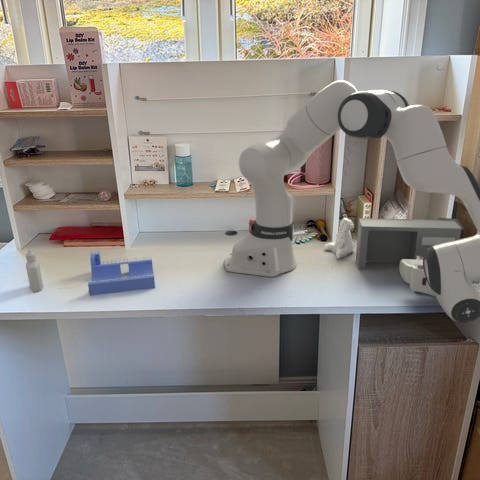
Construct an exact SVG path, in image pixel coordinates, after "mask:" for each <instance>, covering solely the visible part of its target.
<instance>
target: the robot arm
mask: <svg viewBox="0 0 480 480" xmlns="http://www.w3.org/2000/svg"><path fill="white" fill-rule="evenodd" d="M340 130H341V131H343V133H344V134H346V135H348V136H349V137H351V138H355V139H361V140H362V139H363V140H364V139H365V140H366V139H381V138H384V139H386V140H387V141H389V142H390V144H391V147H392V149H393V154H394V156H395V161H396V164H397V167H398V170H399V173H400V176H401V177H402V178H401V179H402V180H403V182H404V183H405V184H406V185H407V186H408V187H410V188H411V189H413V190H415V191H420V192H425V193H434V194H446V195H451V196H454V197H457V198H458V199H460V200H461V201H462V202H463V205H464V206H465V208H466V210H467V212H468V214H469V216H470V219H471V220H472V224H473V225H474V226H475V228H476V234H474V235H473V236H468V237H464V238H462V239H460V240H456V241H450V242H446V243H442V244H438V245H435V246H431V247H430V248H429V249H428V251H427V252H426V254H425V256H424V259H423V257H422V256H416V259H402V260H401V261H400V263H399V266H398V268H399V269H398V271H399V274H400V276H401V277H402V279H403V281H404V282H406V283H407V284H409V289H410V290H411V291H413V292H414V291H418V292H417V293H421V292H423V294H428V295H430V296H432V297H435V298H437V302H438V304H439V305H440V306H441V308H442V310H443V311H444V313H446V315H447V316H448V317H449V318H451V320H453V321H455V322H458V323H462V324H463V323H464V324H466V323H470V322H474V321H475V320H478V319H479V318H480V292H479V290H478V289H477V287H476V286H475V285H479V284H480V183H478V181H477V179H476V177H475V176H474V173H473V172H472V170H470V168H468V166H466V165H460V164H459V163H457V162H456V161H455V159H454V158H453V156H451V154H450V152H449V150H448V146H447V143H446V140H445V137H444V133H443V131H442V128H441V126H440V123H439V121H438V119H437V117H436V115H435V113H434V112H433V110H432V109H431V107H429V106H427V105H424V104H414V105H410V104H409V102H408V100H407V99H406V97H405V96H403V95H402V94H400V93H399V92H396V91H394V90H386V89H385V90H384V89H371V90H360V91H358V89H356V87H355V86H354V85H353V84H352V83H350V82H349V81H346V80H342V79H340V80H335V81H333V82H332V83H330V84H328V85H327V86H325V87H324V88H322V89H321V90H320V91H318V92H317V93H315V94H314V96H312V97H311V98H310V99H309V100H308V101H306V102H305V103H304V104H303V105H302V106H301V107H300V108H299V109H298V110H297V111H296V112H295V113H294V114H293V115H291V116H290V117H289V118H288V120H287V122H286V127H285V128H284V130H283V131H282V132H281V133H280V134H278V135H277V136H275V137H273V138H271V139H268V140H264V141H259V142H256V143H254V144H251V145H250V146H248V147H247V148H245V149H244V150H243V151H242V152H240V155H239V158H238V167H239V168H238V169H239V171H240V174H241V175H242V177H243V178H245V180H247V181H248V182H249V184H250V185H251V187H252V188H251V189H252V191H253V196H254V200H255V201H254V202H255V203H254V204H255V218H253V217H251V218H250V219H249V221H248V225H249V226H248V231H249V232H248V233H246V234H245V235H243V236H241V238H239V239H237V240H236V241H235V243H234V244H233V247H232V250H231V253H229V254H228V255H227V257H225V259H224V269H225V270H226V271H227V272H230V273H237V274H247V275H255V276H263V277H270V278H275V277H277V276H278V275H280V274H283V273H287V272H288V273H289V271H292V270H294V269H295V268H296V267H297V261H296V258H295V252H294V245H293V239H294V238H295V237H294V235H295V234H294V231H295V226H294V221H293V201H294V199H293V196H292V194H291V193H290V192H288V191H287V188H286V185H285V181H284V178H285V176H287V175H291V174H293V173H294V172H296V171H297V170H299V169H300V168H301V167H303V166H304V165H305V163H306V162H307V160H308V159H309V157H311V156H312V154H313V153H314V152H315V151H316V150H317V149H318V148H319V147H321V146H323V144H325V143H326V142H327V141H328V140H329V139H330V138H332V137H333V136H334V135H335V134H336V133H338V132H339V131H340Z"/></svg>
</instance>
